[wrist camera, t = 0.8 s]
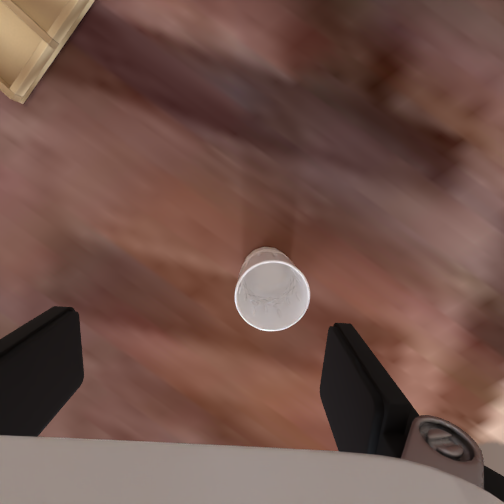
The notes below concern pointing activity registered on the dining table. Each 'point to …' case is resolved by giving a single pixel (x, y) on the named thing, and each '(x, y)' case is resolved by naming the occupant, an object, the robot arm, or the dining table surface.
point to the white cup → (271, 290)
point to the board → (33, 40)
